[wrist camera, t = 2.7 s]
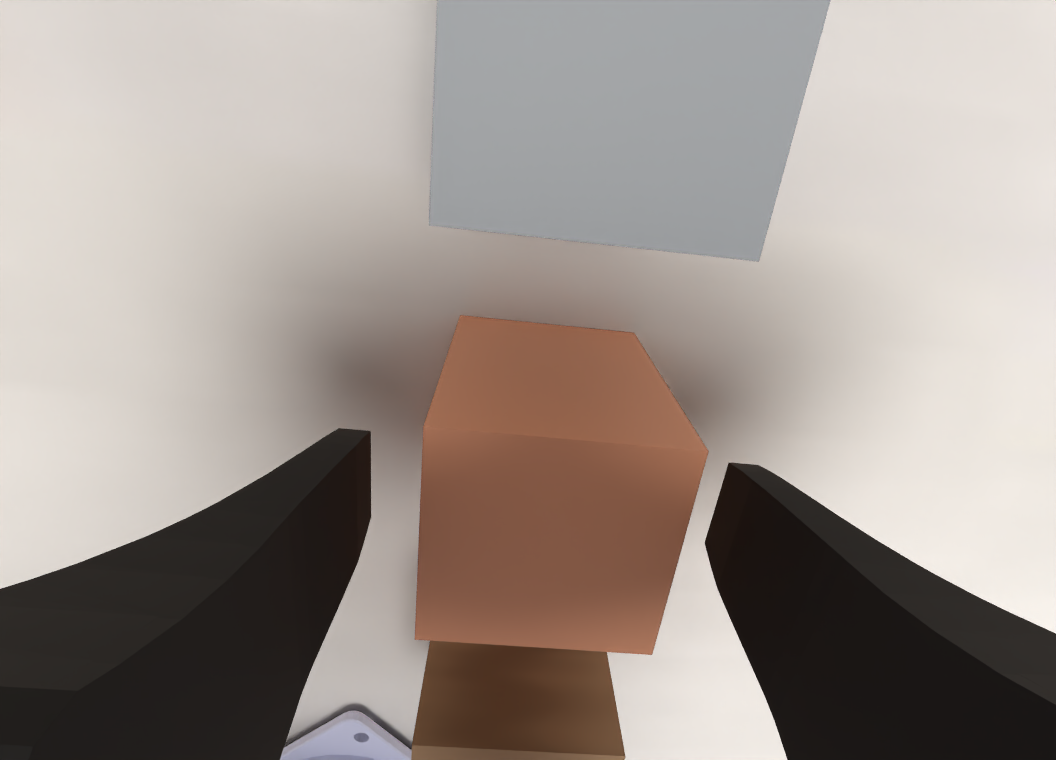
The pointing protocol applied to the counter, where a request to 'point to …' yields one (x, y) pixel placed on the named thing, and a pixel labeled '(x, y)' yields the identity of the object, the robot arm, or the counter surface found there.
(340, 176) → the counter surface
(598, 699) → the walnut block
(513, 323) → the terracotta block
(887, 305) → the counter surface
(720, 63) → the slate block
